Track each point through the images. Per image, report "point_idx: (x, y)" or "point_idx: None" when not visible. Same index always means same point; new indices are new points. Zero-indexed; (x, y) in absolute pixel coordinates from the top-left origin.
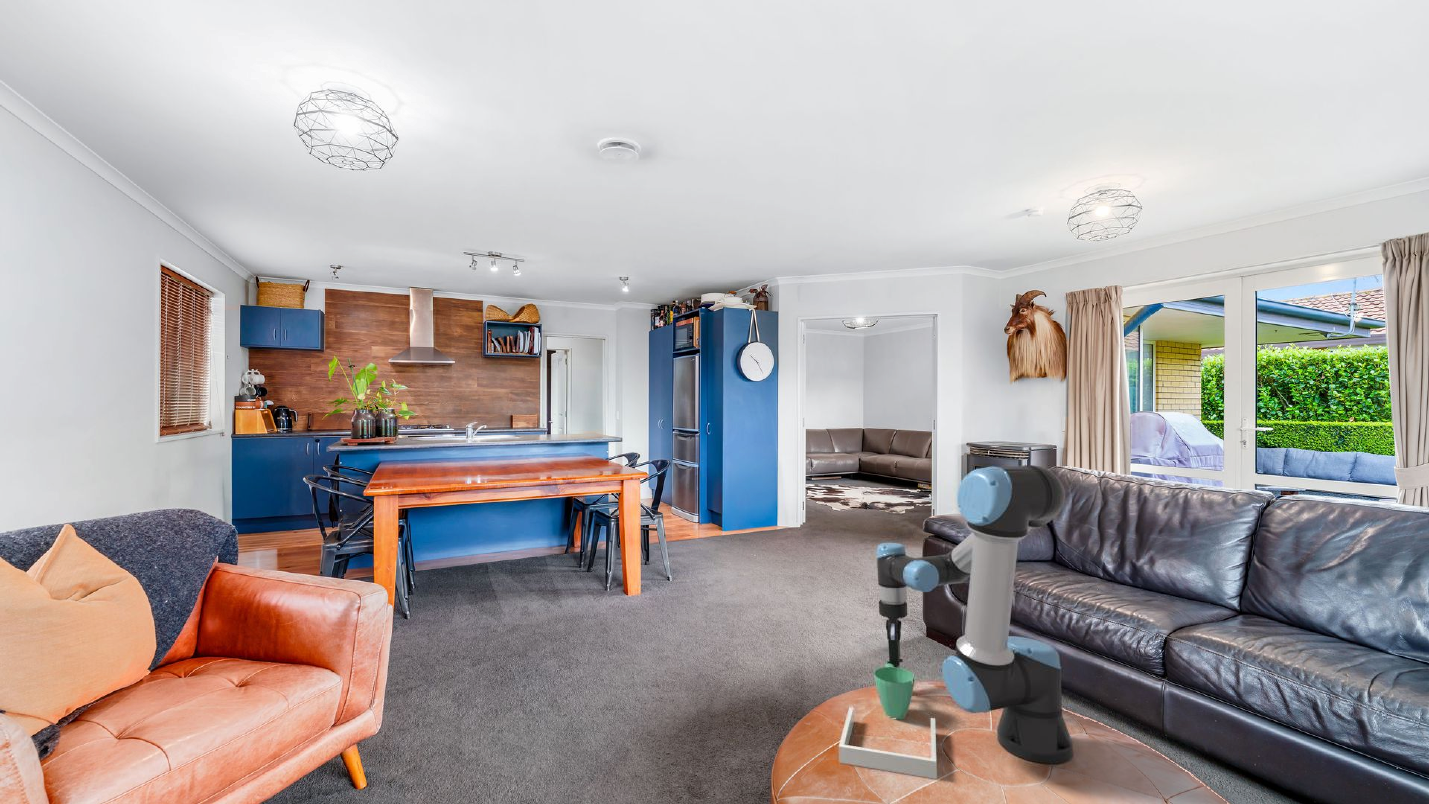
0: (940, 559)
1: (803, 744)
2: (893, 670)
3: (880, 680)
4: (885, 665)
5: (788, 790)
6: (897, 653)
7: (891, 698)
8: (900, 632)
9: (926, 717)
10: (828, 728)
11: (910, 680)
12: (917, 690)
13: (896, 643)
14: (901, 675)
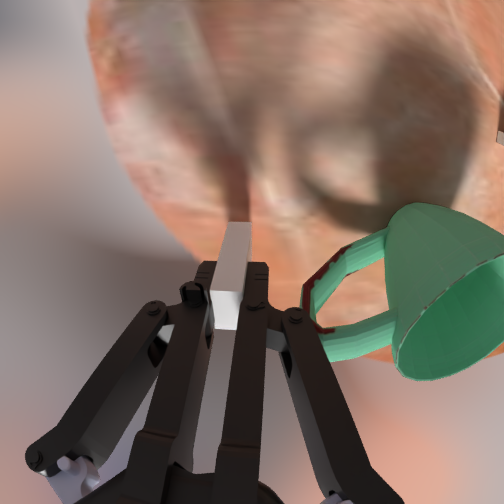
0: None
1: None
2: (398, 331)
3: (488, 351)
4: (336, 360)
5: None
6: (336, 383)
7: (484, 283)
8: (164, 474)
9: (422, 134)
10: None
11: (457, 245)
12: (191, 154)
13: (363, 455)
14: (414, 288)
